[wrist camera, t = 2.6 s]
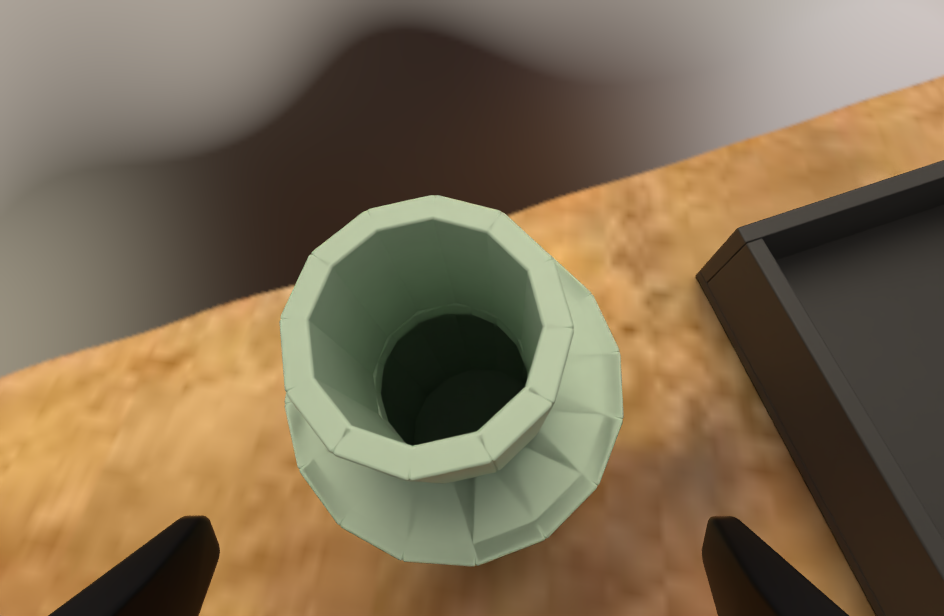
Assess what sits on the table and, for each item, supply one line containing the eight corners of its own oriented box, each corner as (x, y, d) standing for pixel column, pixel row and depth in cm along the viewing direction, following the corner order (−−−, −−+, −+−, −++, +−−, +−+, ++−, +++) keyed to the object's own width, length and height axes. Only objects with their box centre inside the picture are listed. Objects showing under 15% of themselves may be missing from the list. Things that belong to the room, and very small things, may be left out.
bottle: (590, 443, 18) (795, 334, 5) (476, 556, 17) (382, 766, 4) (486, 335, 20) (447, 50, 7) (377, 433, 19) (90, 313, 6)
